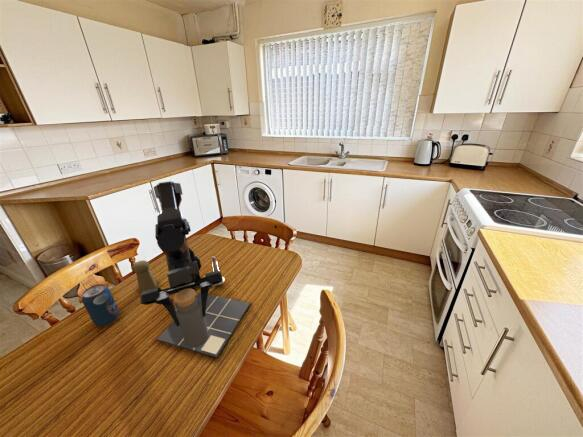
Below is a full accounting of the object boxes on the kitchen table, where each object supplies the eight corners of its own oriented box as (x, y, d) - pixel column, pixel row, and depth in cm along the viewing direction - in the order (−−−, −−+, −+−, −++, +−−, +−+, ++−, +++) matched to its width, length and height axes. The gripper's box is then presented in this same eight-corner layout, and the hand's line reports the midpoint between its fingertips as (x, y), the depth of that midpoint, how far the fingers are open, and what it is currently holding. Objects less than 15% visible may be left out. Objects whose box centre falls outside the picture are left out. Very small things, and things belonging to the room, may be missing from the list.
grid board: (157, 340, 69) (156, 339, 69) (200, 293, 86) (199, 292, 86) (217, 358, 63) (216, 356, 63) (250, 304, 81) (249, 302, 80)
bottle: (205, 347, 60) (193, 303, 54) (181, 348, 60) (166, 304, 54) (211, 328, 66) (200, 285, 59) (189, 329, 65) (177, 287, 59)
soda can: (121, 320, 76) (108, 291, 71) (94, 332, 72) (78, 302, 67) (119, 307, 81) (107, 279, 76) (94, 317, 78) (79, 289, 72)
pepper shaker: (135, 289, 89) (125, 265, 85) (149, 280, 94) (141, 256, 90) (146, 293, 87) (137, 269, 82) (160, 283, 92) (152, 259, 88)
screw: (212, 282, 92) (225, 279, 93) (212, 290, 88) (226, 287, 89) (206, 254, 86) (219, 251, 88) (206, 261, 82) (220, 258, 83)
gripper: (128, 265, 52) (139, 339, 48) (215, 243, 59) (231, 306, 55) (142, 273, 62) (151, 335, 58) (215, 254, 69) (228, 308, 65)
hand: (191, 321), depth 59 cm, fingers closed on bottle, 6 cm apart
